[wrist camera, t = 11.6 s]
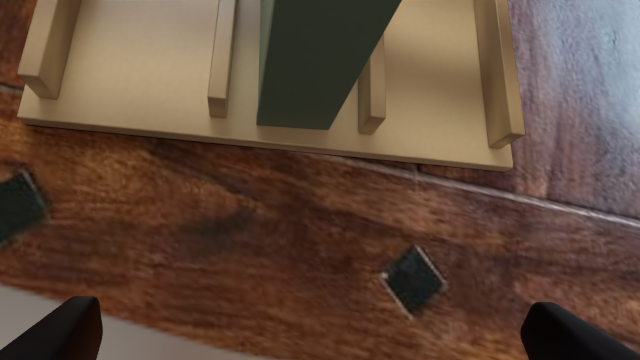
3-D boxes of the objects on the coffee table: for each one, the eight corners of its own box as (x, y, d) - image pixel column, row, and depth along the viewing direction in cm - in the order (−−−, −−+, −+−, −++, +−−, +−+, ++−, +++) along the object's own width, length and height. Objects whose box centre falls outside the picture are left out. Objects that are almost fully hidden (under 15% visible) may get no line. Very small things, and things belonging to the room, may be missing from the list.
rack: (504, 172, 23) (540, 155, 20) (24, 124, 18) (-10, 94, 16) (484, -5, 27) (512, -39, 24) (78, -82, 22) (57, -134, 19)
